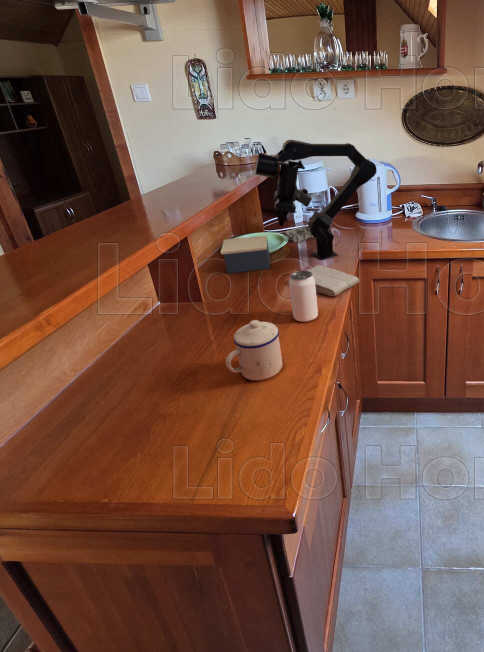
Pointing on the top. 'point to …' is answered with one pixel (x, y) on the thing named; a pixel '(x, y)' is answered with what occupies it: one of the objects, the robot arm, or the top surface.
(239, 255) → the toy box
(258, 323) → the teacup with lid
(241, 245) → the lid
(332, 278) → the washcloth
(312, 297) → the can
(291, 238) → the egg carton
